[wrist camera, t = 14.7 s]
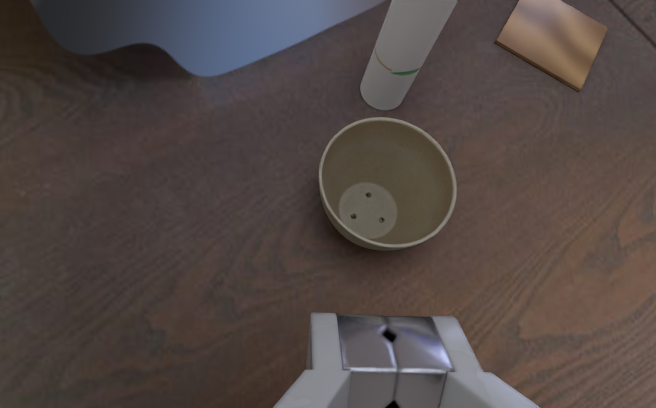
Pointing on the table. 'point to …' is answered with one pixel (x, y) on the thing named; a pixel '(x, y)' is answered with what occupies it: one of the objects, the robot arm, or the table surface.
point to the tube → (402, 49)
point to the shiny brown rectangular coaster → (553, 39)
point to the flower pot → (386, 184)
